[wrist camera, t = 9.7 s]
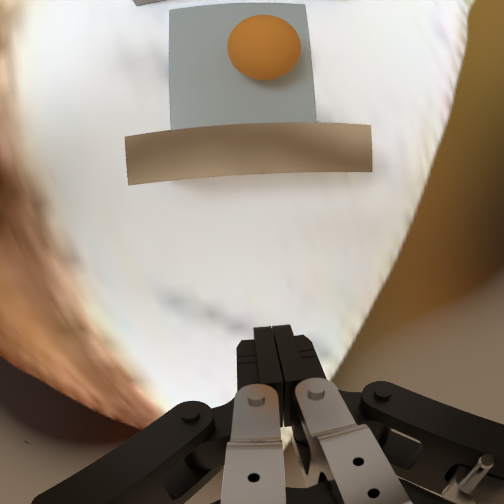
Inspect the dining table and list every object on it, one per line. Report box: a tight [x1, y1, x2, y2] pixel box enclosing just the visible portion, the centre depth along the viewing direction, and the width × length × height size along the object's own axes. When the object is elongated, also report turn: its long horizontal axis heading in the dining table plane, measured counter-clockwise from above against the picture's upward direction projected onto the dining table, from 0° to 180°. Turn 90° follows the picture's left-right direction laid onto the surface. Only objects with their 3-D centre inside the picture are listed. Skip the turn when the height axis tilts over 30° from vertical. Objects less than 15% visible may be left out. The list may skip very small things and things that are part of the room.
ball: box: [227, 15, 301, 80], centre depth 21 cm, size 6×6×6 cm
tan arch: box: [125, 122, 372, 185], centre depth 22 cm, size 3×15×10 cm, turn 93°
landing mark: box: [169, 3, 316, 130], centre depth 23 cm, size 13×13×1 cm
